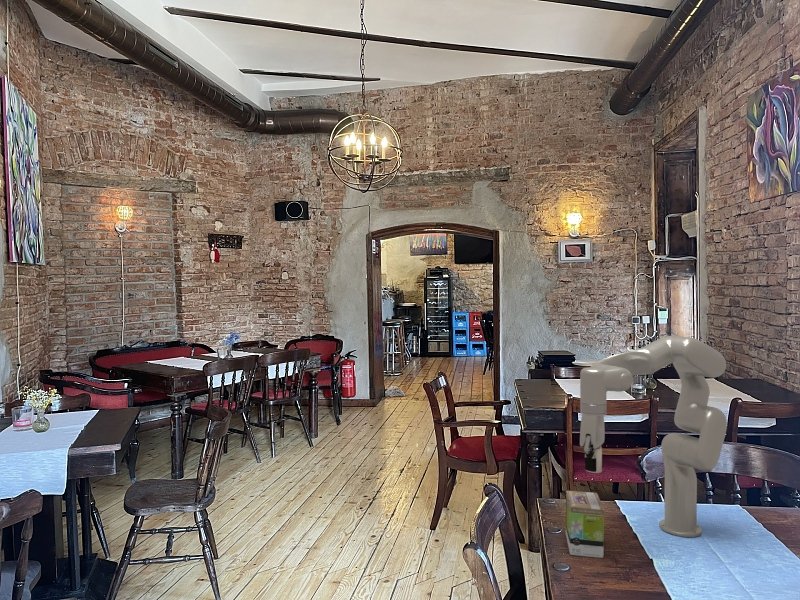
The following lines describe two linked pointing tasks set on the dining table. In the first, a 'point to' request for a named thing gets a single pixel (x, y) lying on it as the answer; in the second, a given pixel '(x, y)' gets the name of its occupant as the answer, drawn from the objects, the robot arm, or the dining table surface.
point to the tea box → (584, 524)
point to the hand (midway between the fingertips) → (593, 467)
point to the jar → (597, 459)
